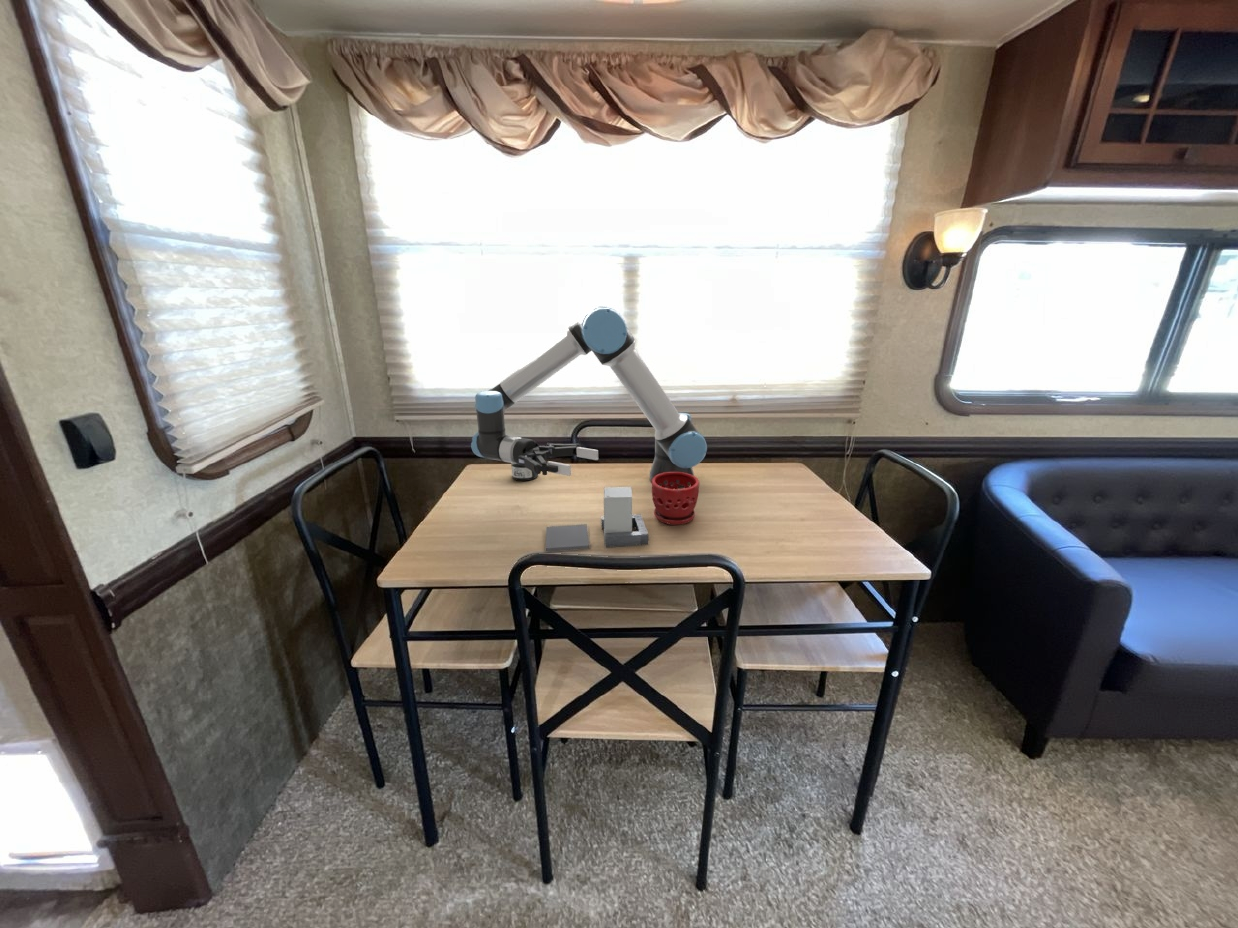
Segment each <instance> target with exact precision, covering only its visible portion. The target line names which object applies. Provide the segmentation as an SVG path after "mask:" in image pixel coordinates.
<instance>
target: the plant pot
mask: <svg viewBox="0 0 1238 928" xmlns="http://www.w3.org/2000/svg"><path fill="white" fill-rule="evenodd" d="M676 480H679V483H677V482H676ZM664 481H667V484H666V485H664ZM688 482H689V483H690V484H689V485H688ZM670 483H673V485H670ZM658 484H661V486H659V485H658ZM679 485H683V486H682V487H684V488H679V487H678V486H679ZM699 493H700V480H699V479H698V478H697V476H695V475H694V476H693V475H691V474H688V473H684V472H665V473H661V474H658V475H656V476H655V477H654V478H653V479H652V482H651V498H652V501H653V505H654V510H653V514H654V516H655V518H656V519H657V520H658V521H659V522H662V523H664V524H667V525H673V526H675V525H677V526H679V525H685V524H688V523H690V522H691V521H692V520H694V518H695V516H696V512H695V510H694V509H695V507H696V505H697V502H698V497H699Z"/></svg>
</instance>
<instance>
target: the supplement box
mask: <svg viewBox="0 0 1238 928" xmlns="http://www.w3.org/2000/svg"><path fill="white" fill-rule="evenodd" d="M603 489H604V492H603V516H604V530H603V539H604V541H603V542H605V533H619V532H633V528H632V515H633V492H632V491H633V490H632V486H605V487H604V488H603Z"/></svg>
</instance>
